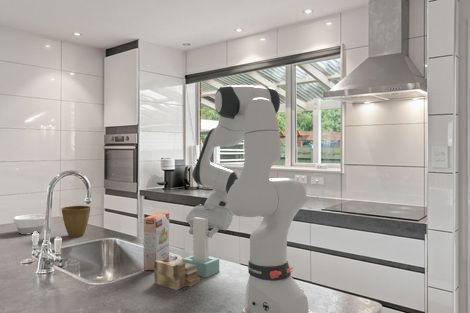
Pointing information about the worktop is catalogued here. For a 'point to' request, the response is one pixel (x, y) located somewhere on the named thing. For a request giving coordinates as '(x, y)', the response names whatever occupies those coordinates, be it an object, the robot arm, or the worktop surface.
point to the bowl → (30, 223)
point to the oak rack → (169, 274)
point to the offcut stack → (189, 272)
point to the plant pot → (76, 219)
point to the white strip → (200, 239)
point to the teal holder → (204, 266)
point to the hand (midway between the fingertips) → (199, 235)
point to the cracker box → (156, 239)
